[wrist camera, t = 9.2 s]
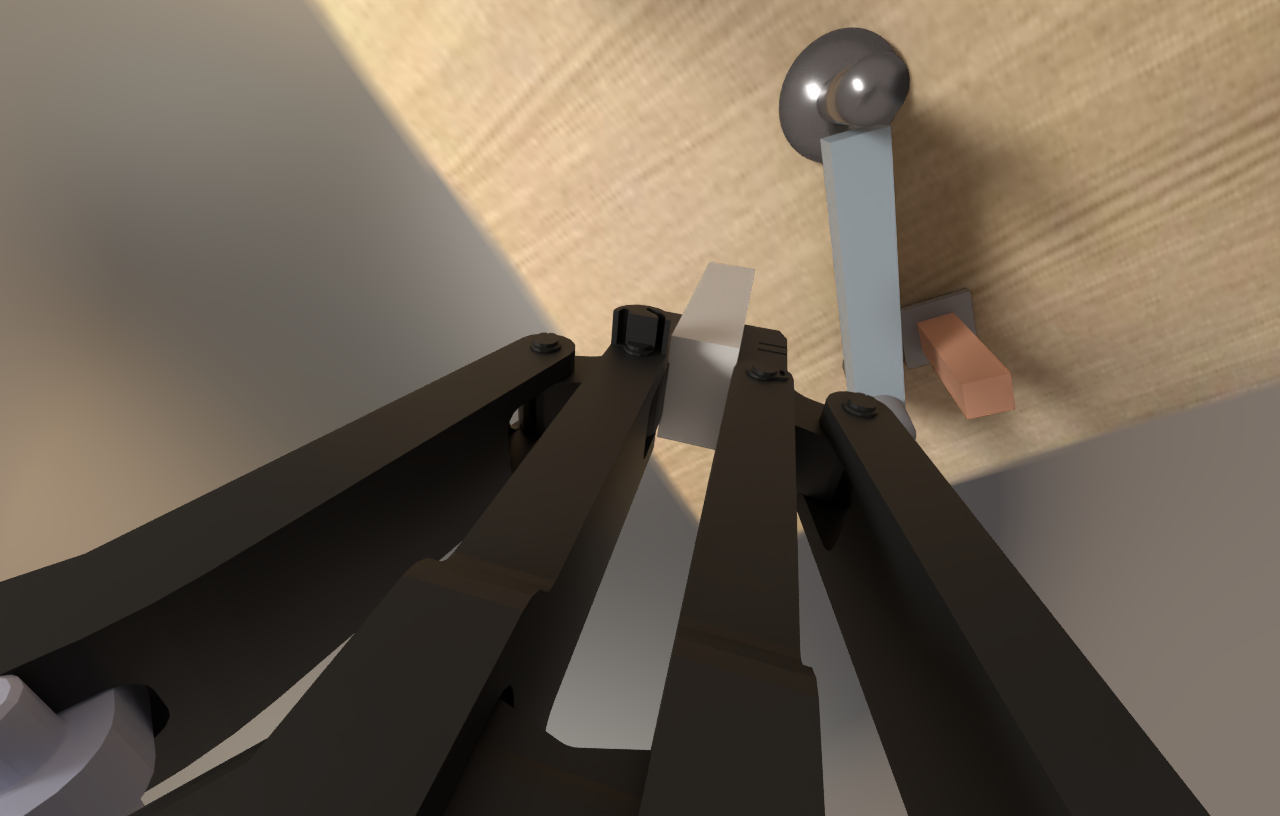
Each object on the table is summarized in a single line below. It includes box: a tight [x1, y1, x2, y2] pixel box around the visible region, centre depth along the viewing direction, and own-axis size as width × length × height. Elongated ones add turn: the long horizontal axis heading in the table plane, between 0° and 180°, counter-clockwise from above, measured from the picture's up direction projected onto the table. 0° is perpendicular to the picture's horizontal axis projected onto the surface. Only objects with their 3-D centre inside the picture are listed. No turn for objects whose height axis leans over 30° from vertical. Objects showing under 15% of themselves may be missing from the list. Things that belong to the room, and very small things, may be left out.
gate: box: [820, 125, 916, 440], centre depth 26 cm, size 15×2×9 cm, turn 16°
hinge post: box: [779, 28, 910, 163], centre depth 22 cm, size 6×6×11 cm
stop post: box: [900, 288, 1015, 419], centre depth 27 cm, size 4×4×9 cm
